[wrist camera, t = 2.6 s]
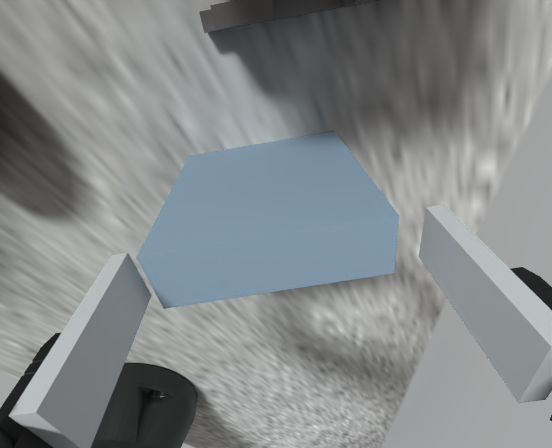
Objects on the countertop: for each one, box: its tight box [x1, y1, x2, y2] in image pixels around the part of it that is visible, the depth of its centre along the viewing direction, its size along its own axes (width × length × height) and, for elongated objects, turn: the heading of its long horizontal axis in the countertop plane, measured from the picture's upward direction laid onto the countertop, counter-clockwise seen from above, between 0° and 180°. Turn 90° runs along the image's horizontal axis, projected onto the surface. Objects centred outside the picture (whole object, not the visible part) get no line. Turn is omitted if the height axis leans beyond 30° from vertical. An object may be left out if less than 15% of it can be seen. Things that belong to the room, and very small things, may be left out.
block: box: [137, 131, 399, 309], centre depth 19 cm, size 4×11×12 cm, turn 99°
